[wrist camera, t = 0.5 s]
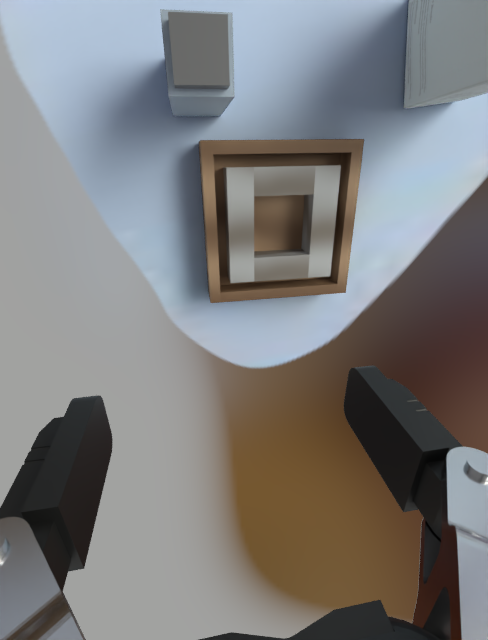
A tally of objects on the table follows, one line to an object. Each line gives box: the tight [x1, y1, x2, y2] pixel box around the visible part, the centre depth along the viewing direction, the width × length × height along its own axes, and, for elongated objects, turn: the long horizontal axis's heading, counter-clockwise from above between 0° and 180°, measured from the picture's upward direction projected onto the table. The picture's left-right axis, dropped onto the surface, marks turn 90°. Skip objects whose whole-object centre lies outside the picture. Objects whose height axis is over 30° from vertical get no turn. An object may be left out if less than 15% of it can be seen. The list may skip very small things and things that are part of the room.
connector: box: [160, 9, 234, 116], centre depth 23 cm, size 4×4×10 cm
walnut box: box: [199, 139, 364, 303], centre depth 31 cm, size 14×14×3 cm
